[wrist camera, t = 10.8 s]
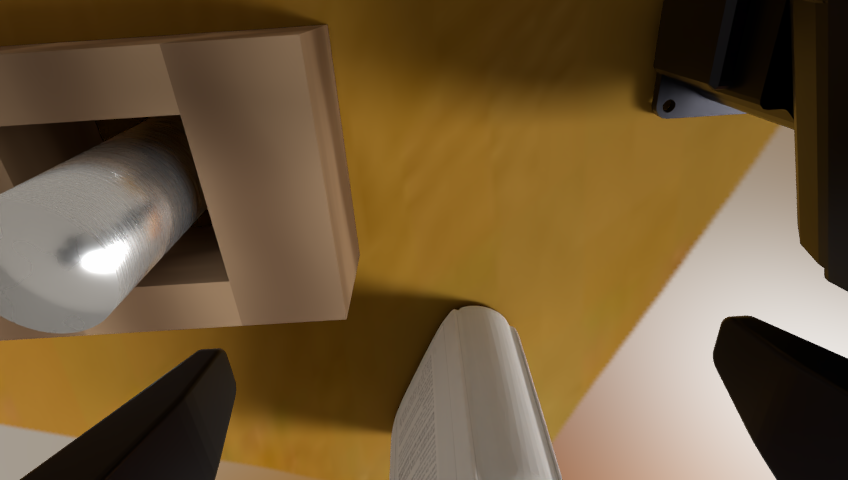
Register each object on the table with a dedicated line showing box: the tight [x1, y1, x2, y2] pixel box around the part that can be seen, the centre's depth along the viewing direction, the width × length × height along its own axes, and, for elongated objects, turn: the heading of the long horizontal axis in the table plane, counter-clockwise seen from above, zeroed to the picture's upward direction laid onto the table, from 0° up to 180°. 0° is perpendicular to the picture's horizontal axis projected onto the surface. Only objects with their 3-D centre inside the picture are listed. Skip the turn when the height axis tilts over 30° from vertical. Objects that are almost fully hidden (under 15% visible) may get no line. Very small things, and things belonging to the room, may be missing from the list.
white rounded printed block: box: [390, 306, 562, 480], centre depth 21 cm, size 10×4×12 cm, turn 159°
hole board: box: [0, 25, 360, 341], centre depth 18 cm, size 14×10×5 cm
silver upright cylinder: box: [0, 115, 208, 333], centre depth 16 cm, size 4×4×9 cm
